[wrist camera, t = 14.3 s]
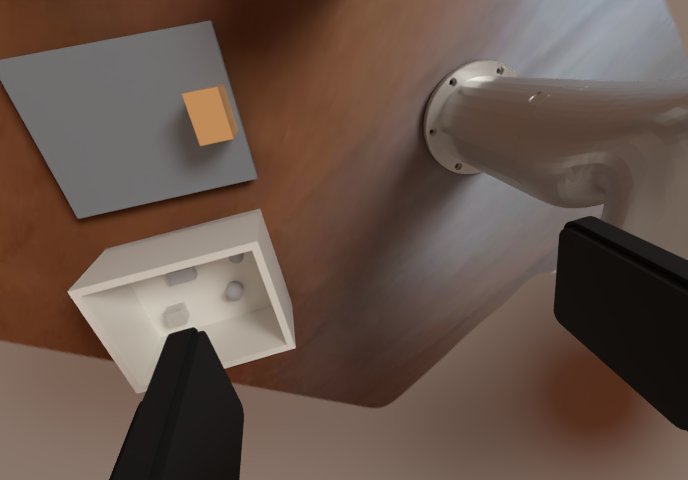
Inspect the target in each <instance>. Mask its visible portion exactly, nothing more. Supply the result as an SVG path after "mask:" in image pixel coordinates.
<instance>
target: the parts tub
mask: <svg viewBox="0 0 688 480" xmlns="http://www.w3.org/2000/svg"><path fill="white" fill-rule="evenodd" d="M68 294H69V295H70V296H71V298H72V299H73V301H74V302H75V304H76V305H77V307H78V308H79V310H80V311H81V313H82V314H83V316H84V317H85V319H86V320H87V321H88V323H89V324H90V326H91V327H92V329H93V330H94V332H95V333H96V335H97V336H98V338H99V339H100V341H101V342H102V344H103V345H104V346H105V348H106V349H107V351H108V352H109V354H110V355H111V357H112V358H113V360H114V361H115V363H116V364H117V365H118V366H119V368H120V370H121V371H122V373H123V374H124V376H125V377H126V378H127V380H128V382H129V383H130V385H131V386H132V388H133V389H134V390H135V392H136V393H137V394H139V393H142V392H146V391H147V388H148V385H149V383H150V380H151V378H152V375H153V372H154V370H155V367H156V365H157V362H158V359H159V357H160V354H161V351H162V349H163V346H164V344H165V341H166V338H167V336H168V335H169V334H171V333H174V332H177V331H181V330H184V329H188V328H192V327H194V328H196V329H197V330H198V332H199V331H205V332H206V334H207V335H208V337H209V339H210V341H211V343H212V345H213V347H214V349H215V351H216V353H217V355H218V357H219V359H220V361H221V363H222V365H223V367H224V369H225V368H228V367H232V366H235V365H239V364H242V363H246V362H249V361H253V360H256V359H259V358H263V357H266V356H270V355H273V354H277V353H280V352H284V351H287V350H291V349H294V348H296V345H295V333H294V322H293V311H292V302H291V299H290V296H289V293H288V290H287V287H286V284H285V281H284V278H283V275H282V272H281V269H280V266H279V263H278V260H277V257H276V254H275V252H274V249H273V246H272V243H271V240H270V237H269V234H268V231H267V228H266V225H265V222H264V219H263V216H262V213H261V210H260V209H257V210H253V211H249V212H245V213H241V214H237V215H234V216H230V217H226V218H222V219H218V220H214V221H211V222H207V223H203V224H199V225H195V226H191V227H188V228H184V229H180V230H176V231H172V232H168V233H165V234H161V235H157V236H153V237H149V238H145V239H142V240H138V241H134V242H130V243H126V244H122V245H119V246H115V247H111V248H107V249H106V250H105V251H104V252H103V253H102V254H101V255H100V256H99V257H98V258H97V260H96V261H95V262H94V263H93V264H92V265H91V266H90V267H89V268H88V269H87V271H86V272H85V273H84V274H83V275H82V276H81V277H80V278H79V279H78V281H77V282H76V283H75V284H74V285H73V286H72V287H71V288H70V289H69V291H68Z"/></svg>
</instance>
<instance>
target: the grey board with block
mask: <svg viewBox="0 0 688 480" xmlns="http://www.w3.org/2000/svg"><path fill="white" fill-rule="evenodd" d="M0 80H1V82H2V84H3V86H4V87H5V89H6V91H7V93H8V95H9V96H10V98H11V100H12V102H13V103H14V105H15V107H16V109H17V111H18V112H19V114H20V116H21V118H22V120H23V121H24V123H25V125H26V127H27V129H28V130H29V132H30V134H31V136H32V138H33V139H34V141H35V143H36V145H37V146H38V148H39V150H40V152H41V154H42V155H43V157H44V159H45V161H46V163H47V164H48V166H49V168H50V170H51V172H52V173H53V175H54V177H55V179H56V180H57V182H58V184H59V186H60V188H61V189H62V191H63V193H64V195H65V197H66V198H67V200H68V202H69V204H70V206H71V207H72V209H73V211H74V213H75V214H76V216H77V218H78V219H80V218H84V217H89V216H93V215H98V214H102V213H107V212H111V211H116V210H120V209H124V208H129V207H133V206H138V205H142V204H147V203H151V202H156V201H160V200H165V199H169V198H173V197H178V196H182V195H187V194H191V193H196V192H200V191H205V190H209V189H213V188H218V187H222V186H227V185H231V184H236V183H240V182H245V181H249V180H254V179H258V175H257V172H256V168H255V165H254V162H253V158H252V155H251V151H250V148H249V145H248V141H247V138H246V134H245V131H244V128H243V124H242V121H241V117H240V114H239V111H238V107H237V104H236V101H235V97H234V94H233V90H232V87H231V84H230V80H229V77H228V73H227V70H226V67H225V63H224V60H223V56H222V53H221V50H220V46H219V43H218V40H217V36H216V33H215V29H214V26H213V23H212V21H205V22H200V23H195V24H189V25H184V26H179V27H173V28H168V29H163V30H157V31H152V32H147V33H141V34H136V35H131V36H125V37H120V38H115V39H109V40H104V41H98V42H93V43H88V44H82V45H77V46H72V47H66V48H61V49H56V50H50V51H45V52H40V53H34V54H29V55H24V56H18V57H13V58H8V59H2V60H0Z"/></svg>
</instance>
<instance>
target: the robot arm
mask: <svg viewBox="0 0 688 480" xmlns="http://www.w3.org/2000/svg"><path fill="white" fill-rule="evenodd" d="M497 70H498V71H497ZM450 80H451V84H449V82H450ZM423 127H424V138H425V142H426V145H427V147H428V150H429V152H430V154H431V155H432V156H433V158H434V159H435V160H436V161H437V162H438V163H439V164H440V165H442V166H443V167H445V168H447V169H448V170H450V171H453V172H455V173H460V174H476V173H480V172H484V173H486V174H488V175H490V176H492V177H494V178H496V179H499V180H501V181H503V182H505V183H507V184H509V185H511V186H513V187H515V188H517V189H519V190H521V191H523V192H525V193H527V194H529V195H531V196H533V197H535V198H537V199H539V200H541V201H543V202H546V203H548V204H551V205H554V206H558V207H563V208H586V207H591V206H597V205H601V204H604V208H603V212H602V215H601V219H598V218H596V217H593V216H588V217H584V218H581V219H577V220H574V221H570V222H568V223H566V224H565V226H564V229H563V230H561V232H560V235H559V246H558V260H557V273H556V288H555V301H554V314H555V317H556V319H557V320H558V322H559V323H560V324H561V325H562V326H563V327H564V328H566V329H567V330H568V331H569V332H570V333H571V334H572V335H573V336H575V337H576V338H577V339H578V340H579V341H580V342H582V344H584V345H585V346H586V347H587V348H588V349H589V350H590V351H591V352H593V353H594V354H595V355H596V356H597V357H598V358H599V359H600V360H602V361H603V362H604V363H605V364H606V365H607V366H608V367H609V368H611V369H612V370H613V371H614V372H615V373H616V374H617V375H619V376H620V377H621V378H622V379H623V380H624V381H625V382H626V383H627V384H629V385H630V386H631V387H632V388H633V389H634V390H635V391H636V392H638V393H639V394H640V395H641V396H642V397H643V398H644V399H645V400H647V401H648V402H649V403H650V404H651V405H652V406H653V407H654V408H656V409H657V410H658V411H659V412H660V413H661V414H662V415H663V416H665V417H666V418H667V419H668V420H669V421H670V422H671V423H672V424H674V425H675V426H676V427H678V428H680V429H682V430H687V431H688V78H682V79H670V80H657V81H596V80H572V79H549V78H526V77H520V76H519V75H518V74H517V73H516V72H515V71H514V70H513V69H512V68H510V67H509V66H507V65H506V64H503V63H500V62H498V61H491V60H477V61H473V62H469V63H466V64H464V65H462V66H460V67H457V68H456V69H455V70H453V71H452V72H450V73H449V74H448V75H447V76H446V77H445V78H444V79H443V80H442V81H441V82H440V83H439V84H438V86H437V87H436V89H435V90H434V92H433V93H432V95H431V97H430V100H429V102H428V104H427V108H426V111H425V115H424V124H423ZM431 129H432V132H431V133H430V130H431ZM456 164H457V165H456ZM455 165H456V166H455ZM243 424H244V413H243V407H242V404H241V402H240V400H239V398H238V396H237V394H236V392H235V390H234V388H233V386H232V383H231V381H230V379H229V377H228V375H227V373H226V371H225V369H224V367H223V365H222V363H221V361H220V359H219V357H218V355H217V353H216V351H215V349H214V347H213V345H212V343H211V341H210V339H209V337H208V335H207V334H206V332H205V331H199V332H198V330H197V329H196V328H194V327H192V328H188V329H184V330H181V331H177V332H174V333H171V334H169V335H168V336H167V338H166V341H165V344H164V346H163V349H162V351H161V354H160V357H159V359H158V362H157V365H156V367H155V370H154V372H153V375H152V378H151V380H150V383H149V385H148V388H147V391H146V393H145V396H144V398H143V401H141V402H140V404H139V406H138V408H137V410H136V412H135V415H134V417H133V420H132V423H131V425H130V428H129V430H128V433H127V435H126V438H125V441H124V443H123V446H122V448H121V451H120V453H119V456H118V458H117V461H116V463H115V466H114V469H113V471H112V474H111V476H110V479H109V480H239V475H240V463H241V450H242V436H243Z"/></svg>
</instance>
